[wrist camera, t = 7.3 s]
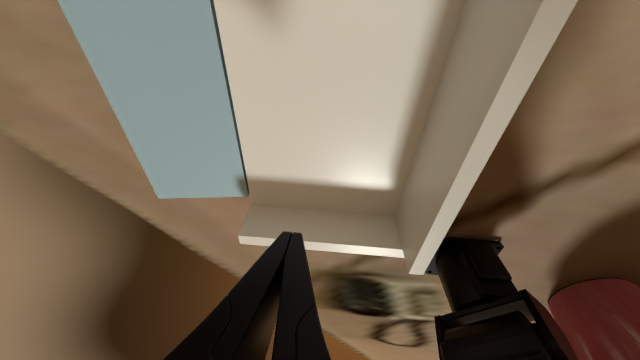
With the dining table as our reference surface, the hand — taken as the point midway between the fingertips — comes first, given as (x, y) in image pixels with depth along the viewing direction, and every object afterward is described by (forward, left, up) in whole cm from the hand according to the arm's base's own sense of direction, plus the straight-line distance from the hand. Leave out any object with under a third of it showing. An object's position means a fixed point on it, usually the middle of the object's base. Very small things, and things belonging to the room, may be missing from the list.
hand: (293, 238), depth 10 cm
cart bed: (+3, -2, -11) cm, 11 cm away
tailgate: (+3, +6, -8) cm, 10 cm away
